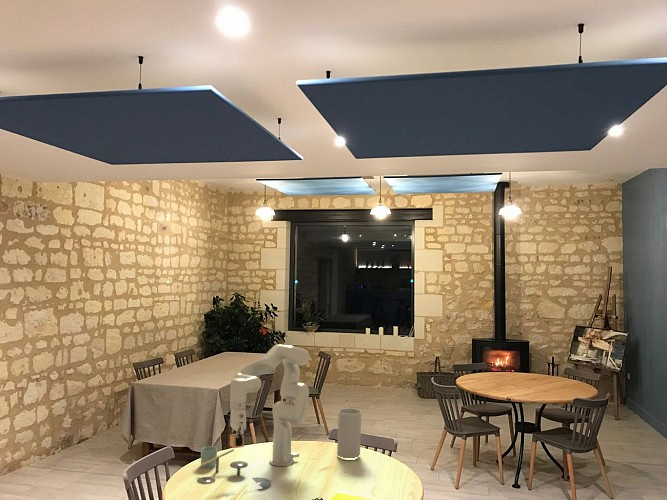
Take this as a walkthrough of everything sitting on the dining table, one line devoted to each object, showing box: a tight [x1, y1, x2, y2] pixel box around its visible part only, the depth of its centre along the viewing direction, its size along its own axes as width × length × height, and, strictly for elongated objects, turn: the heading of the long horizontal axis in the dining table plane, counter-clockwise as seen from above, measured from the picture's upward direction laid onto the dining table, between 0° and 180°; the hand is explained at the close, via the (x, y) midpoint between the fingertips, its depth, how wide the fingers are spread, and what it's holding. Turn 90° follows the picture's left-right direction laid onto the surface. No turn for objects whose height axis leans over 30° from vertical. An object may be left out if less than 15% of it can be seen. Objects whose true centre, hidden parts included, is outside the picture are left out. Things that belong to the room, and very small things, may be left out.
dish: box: [251, 476, 272, 491], centre depth 248 cm, size 12×12×1 cm
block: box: [229, 432, 245, 449], centre depth 249 cm, size 5×5×5 cm
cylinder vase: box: [336, 407, 362, 458], centre depth 291 cm, size 12×12×25 cm
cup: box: [200, 445, 218, 469], centre depth 266 cm, size 8×8×10 cm
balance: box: [196, 448, 249, 485], centre depth 254 cm, size 24×14×11 cm, turn 122°
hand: (236, 443), depth 249 cm, fingers closed on block, 5 cm apart
